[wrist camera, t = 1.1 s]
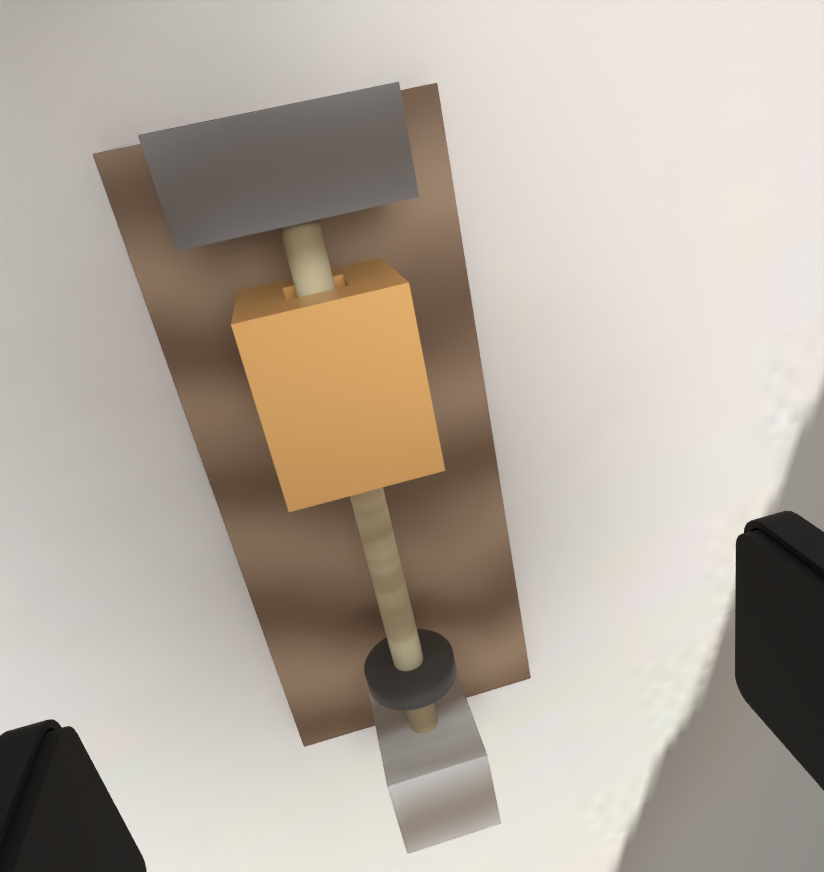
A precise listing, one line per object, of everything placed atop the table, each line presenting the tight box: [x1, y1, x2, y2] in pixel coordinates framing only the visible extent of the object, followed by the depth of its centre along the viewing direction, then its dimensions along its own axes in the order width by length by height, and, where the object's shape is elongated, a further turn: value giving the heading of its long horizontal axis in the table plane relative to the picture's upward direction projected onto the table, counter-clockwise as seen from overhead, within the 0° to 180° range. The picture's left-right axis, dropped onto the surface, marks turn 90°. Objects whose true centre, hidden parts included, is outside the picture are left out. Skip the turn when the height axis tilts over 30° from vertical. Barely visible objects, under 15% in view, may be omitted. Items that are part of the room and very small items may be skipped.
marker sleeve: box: [231, 257, 445, 512], centre depth 22 cm, size 6×5×5 cm
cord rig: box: [93, 82, 531, 854], centre depth 26 cm, size 28×12×8 cm, turn 11°
